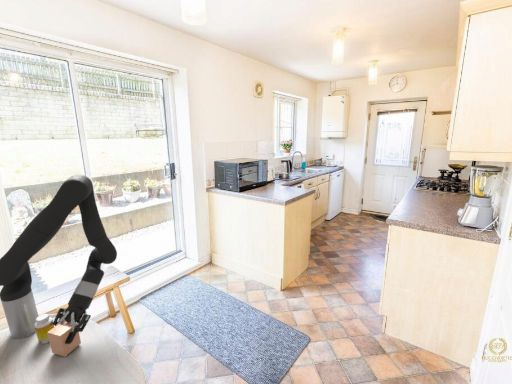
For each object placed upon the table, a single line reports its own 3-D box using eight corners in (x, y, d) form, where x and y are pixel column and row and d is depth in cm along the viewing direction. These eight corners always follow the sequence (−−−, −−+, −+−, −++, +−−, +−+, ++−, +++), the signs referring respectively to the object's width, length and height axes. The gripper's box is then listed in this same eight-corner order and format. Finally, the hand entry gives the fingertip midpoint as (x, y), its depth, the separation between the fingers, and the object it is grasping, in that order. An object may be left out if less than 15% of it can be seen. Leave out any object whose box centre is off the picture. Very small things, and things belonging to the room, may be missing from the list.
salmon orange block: (52, 352, 95) (47, 332, 92) (68, 339, 101) (64, 320, 98) (64, 356, 93) (60, 336, 91) (81, 343, 99) (76, 323, 97)
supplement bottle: (56, 339, 102) (51, 317, 99) (38, 346, 98) (32, 324, 96) (56, 331, 106) (51, 310, 103) (38, 338, 102) (33, 316, 100)
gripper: (62, 289, 101) (37, 337, 93) (90, 295, 97) (66, 345, 89) (77, 293, 107) (54, 338, 99) (104, 299, 103) (83, 346, 95)
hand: (60, 341), depth 94 cm, fingers closed on salmon orange block, 6 cm apart
